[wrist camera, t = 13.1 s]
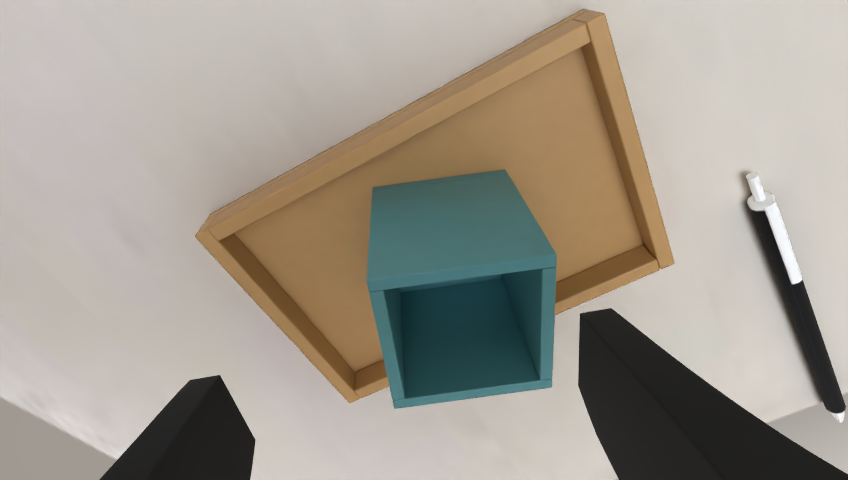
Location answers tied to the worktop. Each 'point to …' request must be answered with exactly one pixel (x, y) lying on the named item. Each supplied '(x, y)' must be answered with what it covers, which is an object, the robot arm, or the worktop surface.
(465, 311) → the tub
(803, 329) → the pen
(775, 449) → the robot arm
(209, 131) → the worktop surface
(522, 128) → the tray
